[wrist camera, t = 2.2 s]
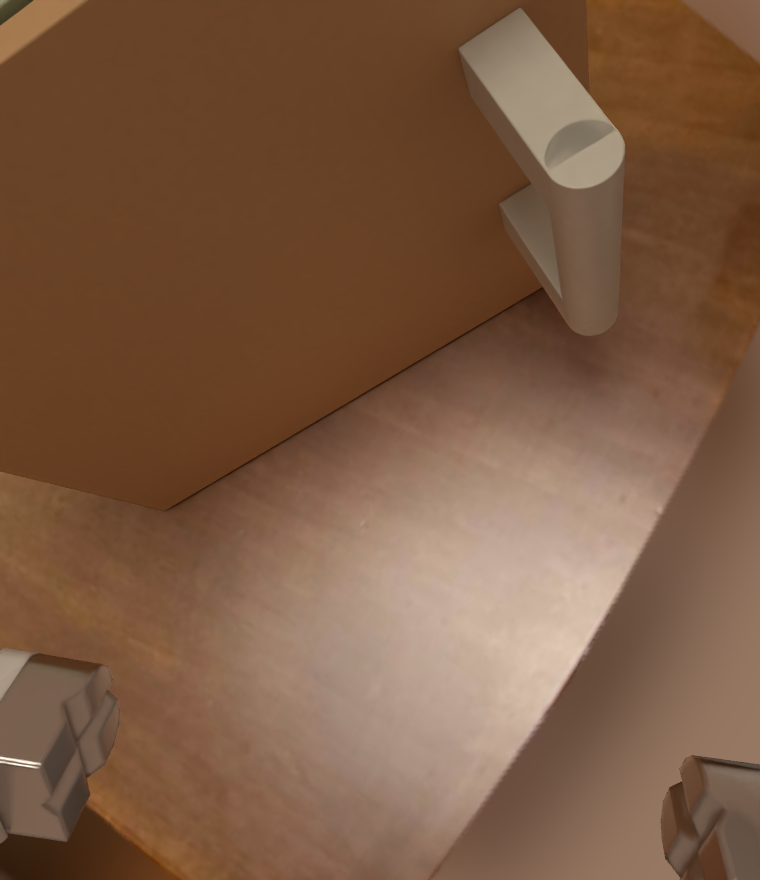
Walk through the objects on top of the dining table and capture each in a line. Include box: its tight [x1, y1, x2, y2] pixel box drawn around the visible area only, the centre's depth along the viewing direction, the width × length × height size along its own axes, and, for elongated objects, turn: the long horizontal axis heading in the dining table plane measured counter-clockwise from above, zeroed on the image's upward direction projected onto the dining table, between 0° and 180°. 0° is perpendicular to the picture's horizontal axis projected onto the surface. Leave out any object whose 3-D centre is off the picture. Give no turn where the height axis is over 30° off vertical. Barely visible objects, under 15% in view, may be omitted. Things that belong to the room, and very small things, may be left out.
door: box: [0, 0, 625, 511], centre depth 25 cm, size 7×26×24 cm, turn 116°
